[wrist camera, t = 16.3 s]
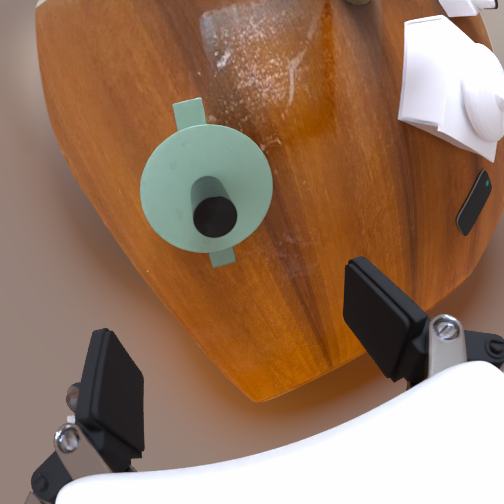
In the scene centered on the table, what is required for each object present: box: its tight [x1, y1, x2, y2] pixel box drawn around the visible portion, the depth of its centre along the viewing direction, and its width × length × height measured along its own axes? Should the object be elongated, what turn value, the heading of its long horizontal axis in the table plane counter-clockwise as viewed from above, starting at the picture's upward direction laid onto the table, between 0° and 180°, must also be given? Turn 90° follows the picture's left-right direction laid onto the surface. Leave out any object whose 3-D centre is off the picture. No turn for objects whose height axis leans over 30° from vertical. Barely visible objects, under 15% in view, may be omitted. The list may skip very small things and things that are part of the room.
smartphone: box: [456, 170, 492, 236], centre depth 43 cm, size 8×1×15 cm
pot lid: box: [140, 124, 273, 253], centre depth 20 cm, size 11×11×7 cm
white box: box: [398, 15, 504, 163], centre depth 23 cm, size 18×18×16 cm
